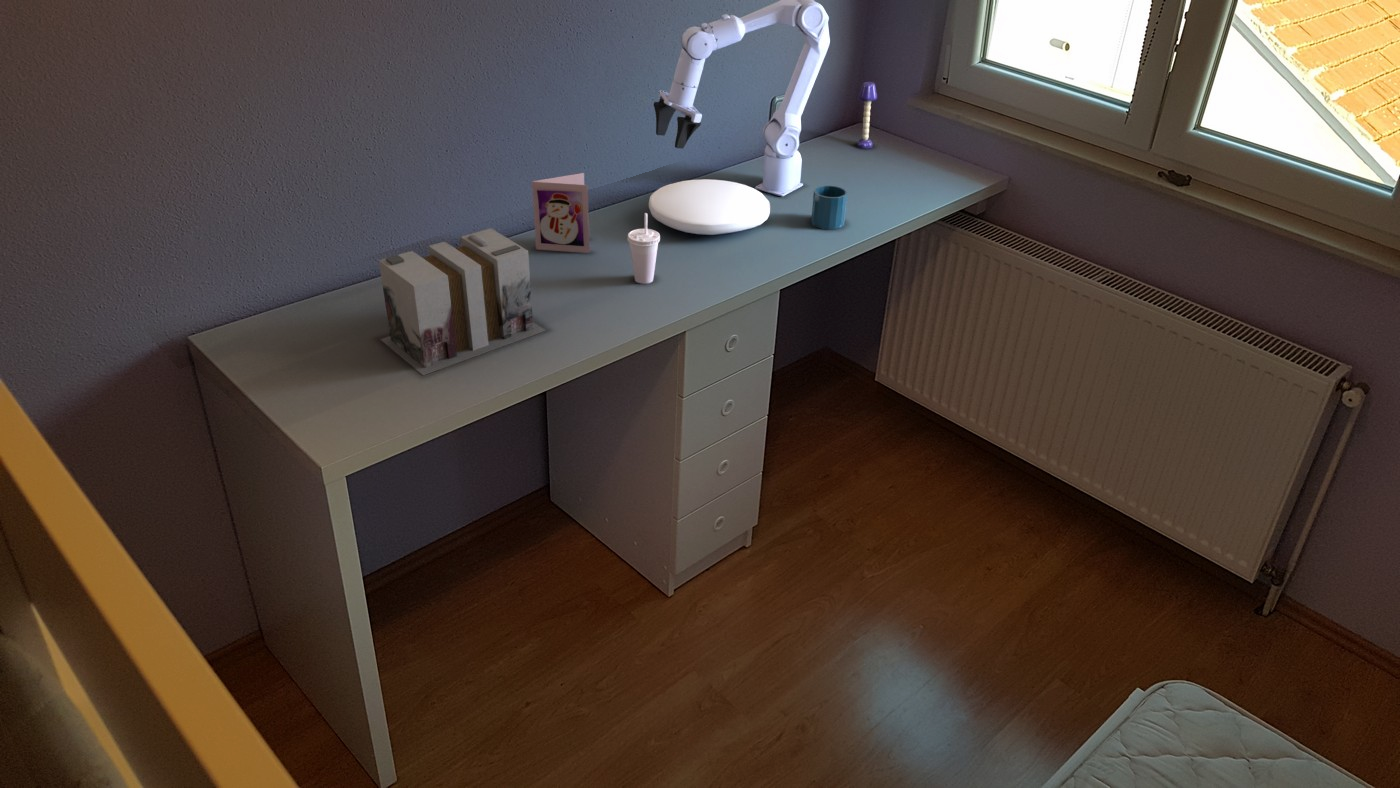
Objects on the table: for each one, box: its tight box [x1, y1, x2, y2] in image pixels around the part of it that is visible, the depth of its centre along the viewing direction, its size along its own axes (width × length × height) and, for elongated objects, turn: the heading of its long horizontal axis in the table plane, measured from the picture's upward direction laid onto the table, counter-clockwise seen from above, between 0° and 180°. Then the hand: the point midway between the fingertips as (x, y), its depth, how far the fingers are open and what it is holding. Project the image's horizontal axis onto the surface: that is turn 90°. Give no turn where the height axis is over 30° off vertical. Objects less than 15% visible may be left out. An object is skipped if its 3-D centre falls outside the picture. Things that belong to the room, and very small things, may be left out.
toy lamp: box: [855, 81, 878, 150], centre depth 279 cm, size 5×5×17 cm
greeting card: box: [531, 172, 591, 254], centre depth 223 cm, size 11×7×15 cm, turn 83°
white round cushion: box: [648, 178, 771, 236], centre depth 239 cm, size 28×6×27 cm
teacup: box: [810, 184, 848, 231], centre depth 238 cm, size 7×7×8 cm
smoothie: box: [627, 212, 661, 285], centre depth 210 cm, size 6×6×14 cm
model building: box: [378, 227, 547, 376], centre depth 189 cm, size 16×25×16 cm, turn 131°
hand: (669, 141), depth 244 cm, fingers open, 7 cm apart
